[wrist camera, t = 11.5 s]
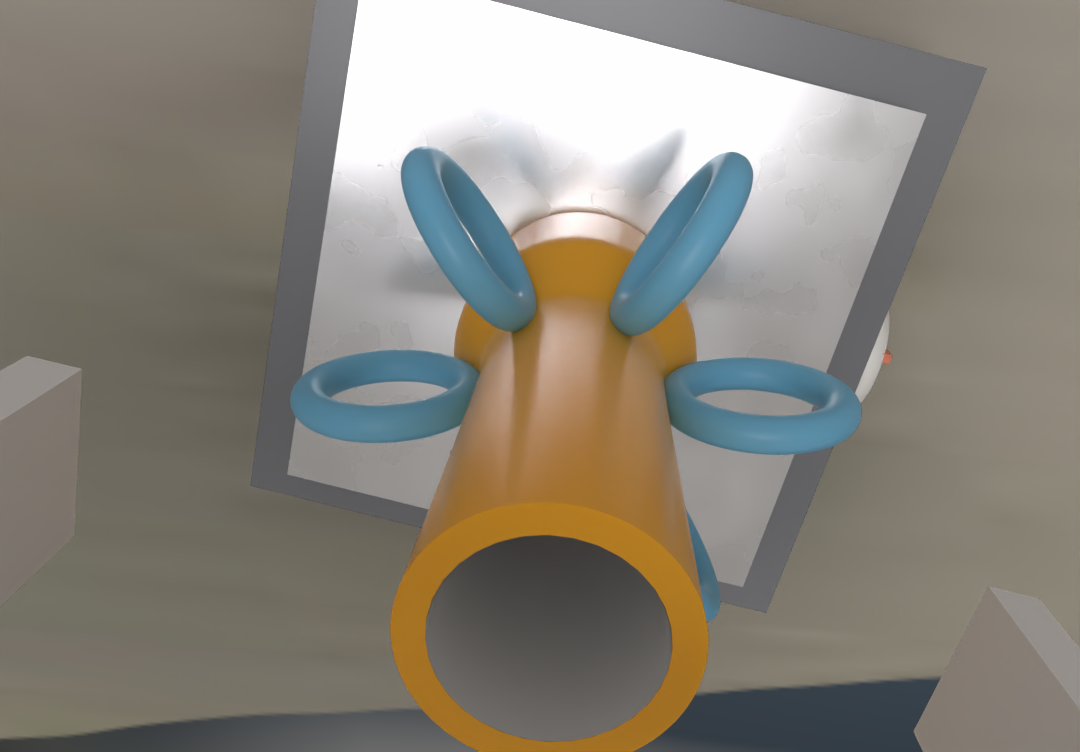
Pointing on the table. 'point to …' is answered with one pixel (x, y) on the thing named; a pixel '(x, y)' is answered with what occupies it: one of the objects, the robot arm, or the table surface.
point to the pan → (595, 187)
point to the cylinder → (565, 463)
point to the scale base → (684, 24)
